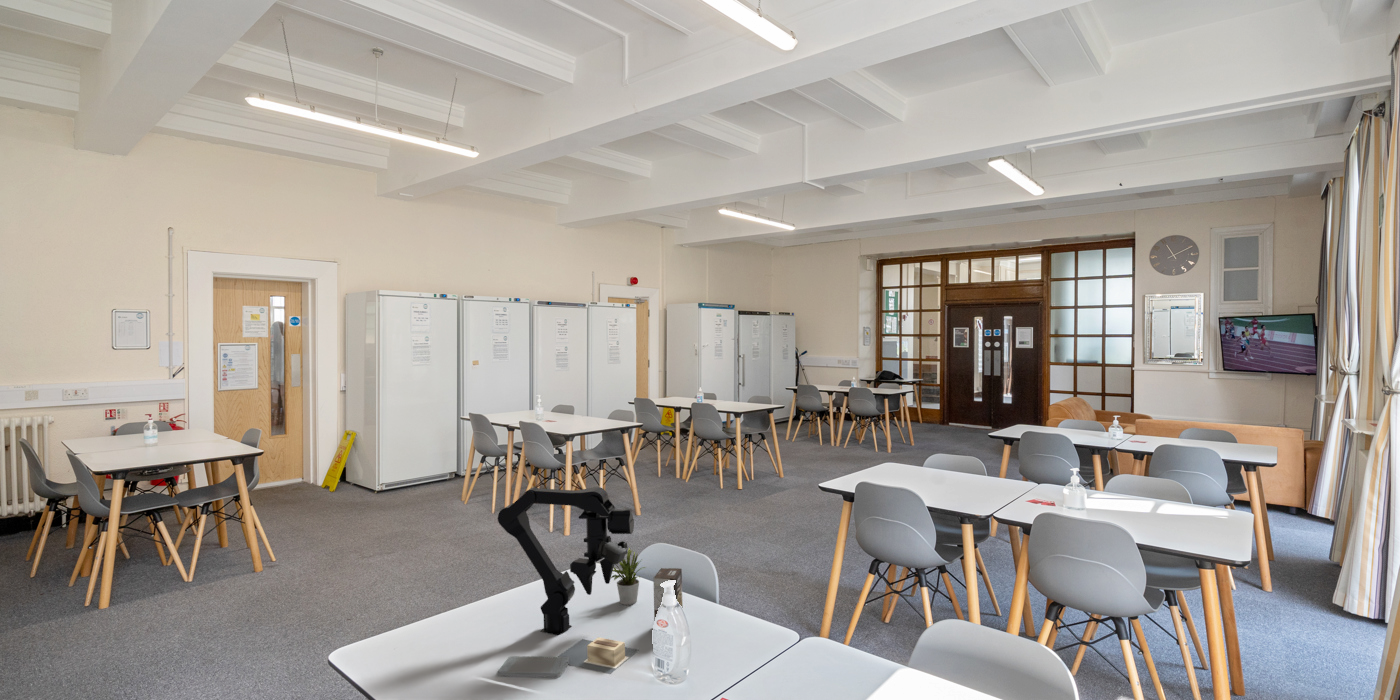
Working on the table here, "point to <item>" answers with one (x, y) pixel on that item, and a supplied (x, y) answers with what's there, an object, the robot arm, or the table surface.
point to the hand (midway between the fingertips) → (598, 588)
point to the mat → (580, 657)
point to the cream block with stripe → (606, 651)
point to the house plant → (627, 580)
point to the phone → (533, 666)
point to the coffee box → (659, 578)
